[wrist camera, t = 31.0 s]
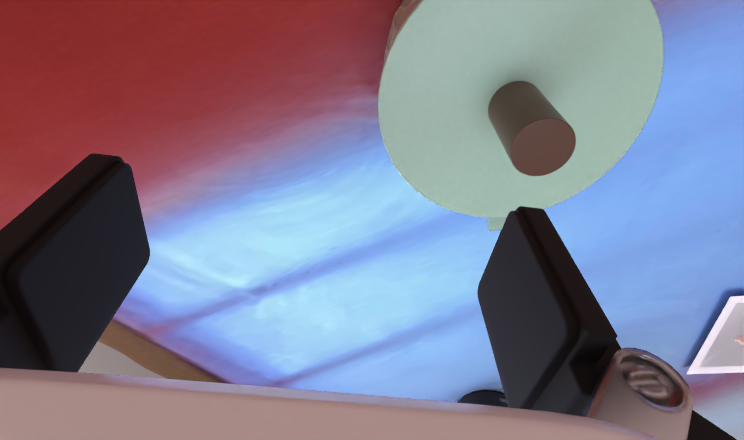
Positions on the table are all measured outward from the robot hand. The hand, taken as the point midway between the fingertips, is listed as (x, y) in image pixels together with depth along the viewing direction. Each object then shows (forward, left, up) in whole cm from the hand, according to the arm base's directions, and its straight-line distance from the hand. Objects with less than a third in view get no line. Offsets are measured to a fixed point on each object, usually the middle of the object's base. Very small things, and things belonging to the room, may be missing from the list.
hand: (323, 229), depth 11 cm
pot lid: (+9, -4, -17) cm, 20 cm away
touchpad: (+40, -42, -27) cm, 64 cm away
